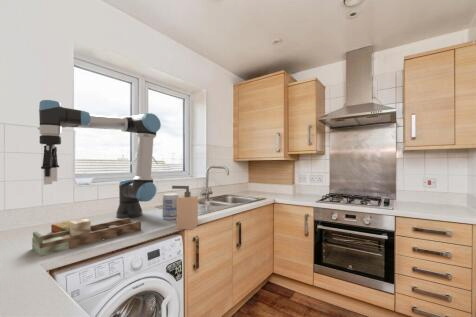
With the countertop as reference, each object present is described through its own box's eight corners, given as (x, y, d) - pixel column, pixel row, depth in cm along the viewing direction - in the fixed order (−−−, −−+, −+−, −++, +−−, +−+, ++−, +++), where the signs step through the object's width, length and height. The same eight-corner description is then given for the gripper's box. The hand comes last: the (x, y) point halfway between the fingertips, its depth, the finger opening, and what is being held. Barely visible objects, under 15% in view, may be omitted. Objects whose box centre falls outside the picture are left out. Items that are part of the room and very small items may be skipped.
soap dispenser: (197, 225, 127) (197, 185, 127) (192, 229, 118) (192, 187, 118) (175, 224, 129) (175, 184, 129) (169, 228, 120) (169, 186, 120)
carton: (69, 228, 122) (69, 220, 122) (85, 233, 114) (85, 224, 114) (50, 232, 115) (50, 224, 115) (66, 238, 107) (66, 229, 107)
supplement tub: (165, 221, 135) (165, 195, 135) (160, 217, 143) (160, 193, 143) (181, 218, 141) (181, 194, 141) (175, 215, 149) (175, 192, 149)
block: (85, 231, 106) (85, 218, 106) (90, 234, 102) (90, 220, 102) (69, 235, 101) (69, 221, 101) (74, 237, 98) (74, 223, 98)
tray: (129, 225, 125) (129, 213, 125) (140, 230, 118) (140, 216, 118) (32, 248, 94) (32, 231, 94) (40, 256, 86) (40, 237, 86)
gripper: (45, 137, 112) (45, 180, 112) (32, 132, 91) (33, 186, 91) (64, 137, 116) (65, 179, 116) (56, 133, 94) (56, 185, 95)
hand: (50, 182), depth 103 cm, fingers open, 13 cm apart
